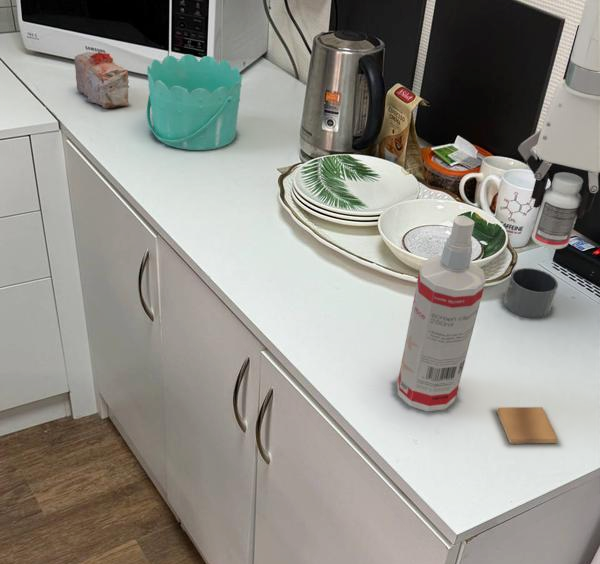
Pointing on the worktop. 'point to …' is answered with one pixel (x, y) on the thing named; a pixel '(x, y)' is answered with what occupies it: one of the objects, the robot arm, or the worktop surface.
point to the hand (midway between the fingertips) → (559, 208)
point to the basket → (193, 102)
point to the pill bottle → (558, 211)
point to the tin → (530, 292)
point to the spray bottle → (441, 323)
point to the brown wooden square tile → (526, 425)
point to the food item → (101, 79)
